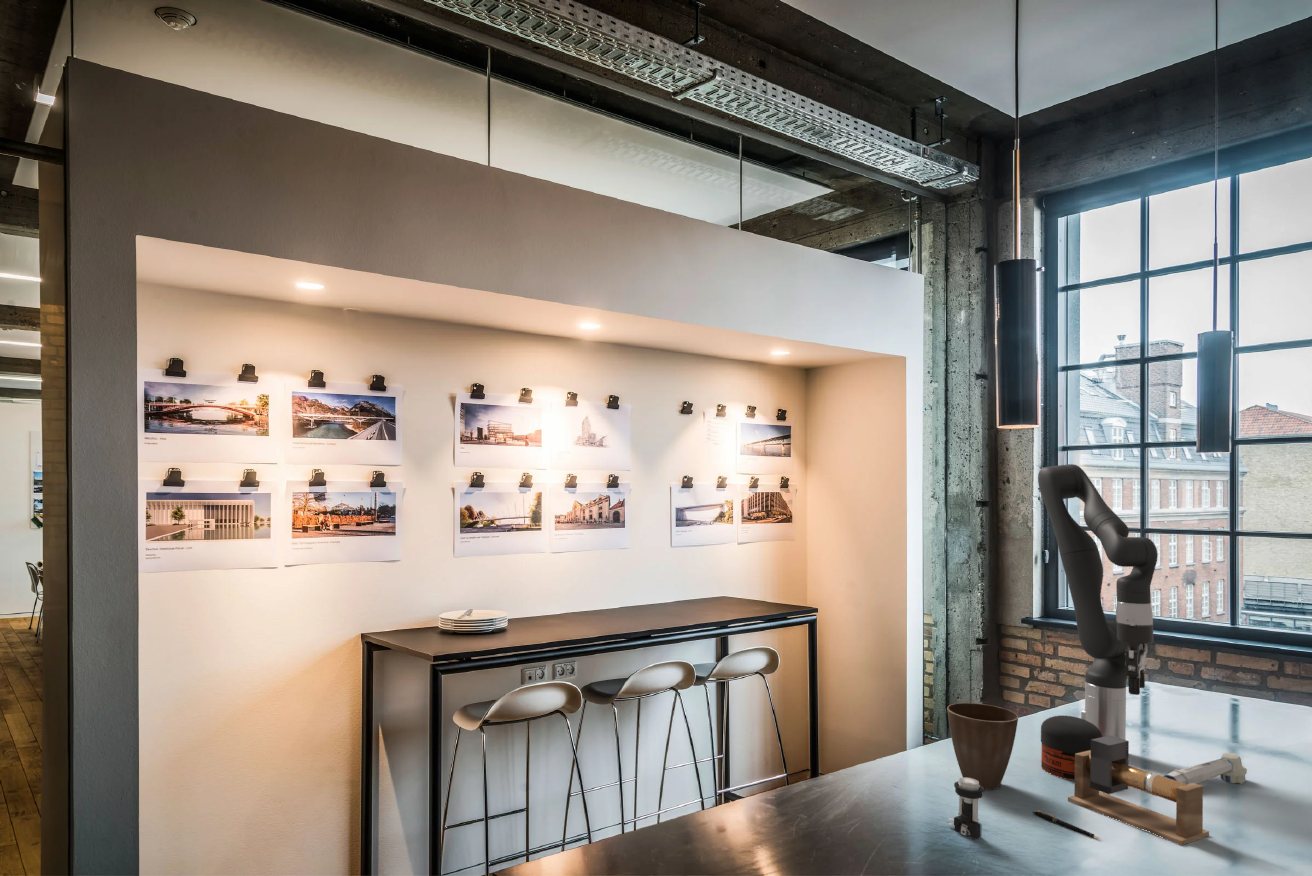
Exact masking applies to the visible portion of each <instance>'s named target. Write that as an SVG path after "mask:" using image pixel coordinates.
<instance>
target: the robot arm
mask: <svg viewBox="0 0 1312 876" xmlns="http://www.w3.org/2000/svg"><path fill="white" fill-rule="evenodd" d="M1037 483H1038V488H1039V491H1040V494H1041V498H1042V500H1043V503H1044V505H1045V508H1046V510H1047V514H1048V516H1049V519H1050V521H1051V525H1052V528H1053V532H1054V537H1055V538H1056V539H1055V540H1056V543H1057V548H1058V551H1059V555H1060V561H1061V563H1062V567H1063V571H1064V574H1065V576H1066V580H1067V585H1068V588H1069V593H1070V596H1071V600H1072V604H1073V609H1074V614H1075V622H1076V628H1077V629H1076V630H1077V634H1078V639H1079V643H1080V644H1081V647H1082V649H1083V650H1084V652H1085V653H1086V654H1087V655H1088V656H1089V657H1091V658H1094V659H1093V662H1092V664H1091V665H1090V667H1088V668H1087V669H1086V671H1085V675H1084V676H1085V677H1084V681H1085V682H1084V684H1085V685H1084V709H1083V710H1081V712H1080V718H1081V719H1084V720H1086V721H1089V722H1090V723H1092V724H1094V725H1095V726H1096V727H1097V728H1098V729H1099V730H1100V731H1101V734H1102V737H1105V736H1114V737H1117V738H1120V739H1124V740H1126V735H1127V734H1126V733H1127V732H1126V728H1127V727H1126V725H1127V724H1126V722H1127V719H1126V718H1127V707H1126V706H1127V686H1128V693H1129V694H1130V695H1133V696H1134V695H1135V696H1139V695H1140V694H1141V689H1144V688H1145V687H1146V680H1145V679H1146V678H1145V672H1146V670H1147V649H1146V645H1149V644H1152V643H1154V621H1153V620H1154V619H1153V618H1154V617H1153V609H1152V603H1151V602H1152V601H1151V600H1152V598H1151V596H1152V595H1151V585H1152V582H1153V578H1154V574H1155V571H1156V566H1157V562H1158V557H1159V556H1158V549H1157V546H1156V544H1155V543H1154V541H1153V540H1152V539H1150V538H1148V537H1143V536H1138V537H1136V536H1129V532H1130V530H1129V528H1128V525H1127V524H1126V523H1125V522H1124V521H1123V520H1122V519H1121V518H1120V517H1119V515H1117V514H1116V513H1115V512H1114V511H1113V510H1112V509H1111V508H1110V507H1109V505H1108V504H1107V503H1106V502H1105V500H1104V499H1103V497H1102V495H1101V494H1100V493H1099V491H1098V489H1097V488H1096V486H1095V485H1094V483H1093V482H1092V480H1091V479H1090V477H1089V475H1087V472H1085V471H1084V469H1083V468H1081V467H1080V466H1079V465H1077V464H1072V463H1070V464H1069V463H1067V464H1060V465H1059V464H1058V465H1053V466H1052V465H1051V466H1044V467H1042V468H1041V469H1040V470H1039V471H1038V475H1037ZM1074 498H1077V499H1079V500H1080V501H1082V502H1083V504H1084V505H1083V506H1084V507H1083V519H1084V522H1085V525H1086V526H1087V527H1088V529H1089V530H1090V531H1091V532H1092V533H1093V534H1094V535H1095V536H1096V537H1097V539H1098V540H1099V542H1100V543H1101V545H1102V548H1103V550H1104V553H1105V555H1106V557H1107V559H1108V560H1109V561H1110V562H1111V563H1112V564H1113V565H1115V566H1117V567H1120V568H1123V567H1125V568H1126V567H1128V568H1131V567H1132V569H1131V571H1130V573H1129V574H1128V575H1124V576H1122V577H1119V578H1117V580H1116V583H1115V584H1116V587H1115V588H1116V609H1115V617H1116V618H1115V620H1107V619H1106V616H1105V615H1106V614H1105V611H1104V610H1103V605H1102V598H1101V597H1102V589H1103V588H1102V587H1103V579H1104V567H1103V566H1104V565H1103V562H1102V559H1101V558H1102V557H1101V554H1100V551H1099V548H1098V544H1097V543H1096V541H1095V540H1094V538H1093V537H1092V536H1091V535H1090V534H1089V533H1088V532H1087V531H1086V530H1085V528H1083V527H1082V526H1081V525H1080V524H1078V522H1077V521H1076V520H1075V519H1074V518H1073V517H1072V515H1071V514H1070V512H1069V511H1068V508H1067V506H1066V504H1065V501H1064V500H1066V499H1074ZM1127 681H1128V682H1127ZM1127 683H1128V685H1127Z"/></svg>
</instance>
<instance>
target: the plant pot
mask: <svg viewBox="0 0 1312 876" xmlns="http://www.w3.org/2000/svg"><path fill="white" fill-rule="evenodd" d="M946 709H947V711H946V712H947V718H948V719H947V720H948V726H949V731H950V736H951V742H952V746H953V750H954V753H955V758H956V761H957V765H958V768H959V771H960V774H961V776H962V778H972V779H975V780H977V781H978V782H979V785H981V786H982V787H983V788H984V790H997V789H998V788H1000V786H1001V784H1002V781H1003V778H1004V776H1005V773H1006V771H1007V768H1008V765H1009V762H1010V759H1011V756H1012V753H1013V748H1014V745H1015V740H1016V736H1017V735H1016V733H1017V727H1018V721H1019V716H1018V714H1017V713H1016V712H1014V711H1012V710H1010V709H1007V708H1005V707H999V706H996V705H991V704H984V703H975V702H973V703H972V702H959V703H953V704H949V705H948V706H947V707H946Z"/></svg>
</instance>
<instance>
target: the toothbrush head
mask: <svg viewBox="0 0 1312 876" xmlns="http://www.w3.org/2000/svg"><path fill="white" fill-rule="evenodd" d="M1247 770H1248V769H1247V768H1246V767H1245V766H1244V765H1243V763H1242V758H1241V756H1240V755H1238V754H1237V753H1232V752H1224V753H1223V754H1222V755H1221V757H1220V758H1218V759H1215V760H1211V761H1206V762H1203V763H1200V764H1199V763H1198V764H1195V765H1193V766H1190V767H1185V768H1181V769H1177V768H1176V769H1173V770H1172V771H1170V772H1169V773H1166V774H1165V775H1162V776H1163V777H1166V778H1169V779H1172V780H1175V781H1178V782H1181V783H1184V784H1191V783H1195V784H1198V785H1200V783H1203V782H1206V781H1208V780H1211V779H1213V778H1216V777H1219V779H1220V778H1221V779H1222V780H1221V779H1220V780H1221V781H1224V782H1227V783H1229V784H1234V783H1235V784H1237V783H1238V784H1240V785H1241V784H1245V783H1246V775H1247V772H1248V771H1247Z"/></svg>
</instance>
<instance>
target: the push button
mask: <svg viewBox="0 0 1312 876" xmlns="http://www.w3.org/2000/svg"><path fill="white" fill-rule="evenodd" d="M953 784H954V785H953V786H954V790H955V791H954V792H955V794H956V795H957V796H958V800H959V801H958V812H957V816H953V818H952V817H949V818H948V820H949V821H951V822H949V823H948V825H950V826H952V827H954V831H956V832H958V833H960V834H961V835H963V836H967V837H969V838H971V839H972V840H977V839H979V838H982V836H983V835H982V834H983V833H982V832H983V824H982V822H980V818H979V799H981V798H982V797H983V793H984V791H985V789H984V788H983V787H982V786H981V785H979V782H978V781H977V780H975V779H972V778H963V777H959V779H958V781H955V782H954V783H953ZM952 822H953V823H952Z"/></svg>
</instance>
